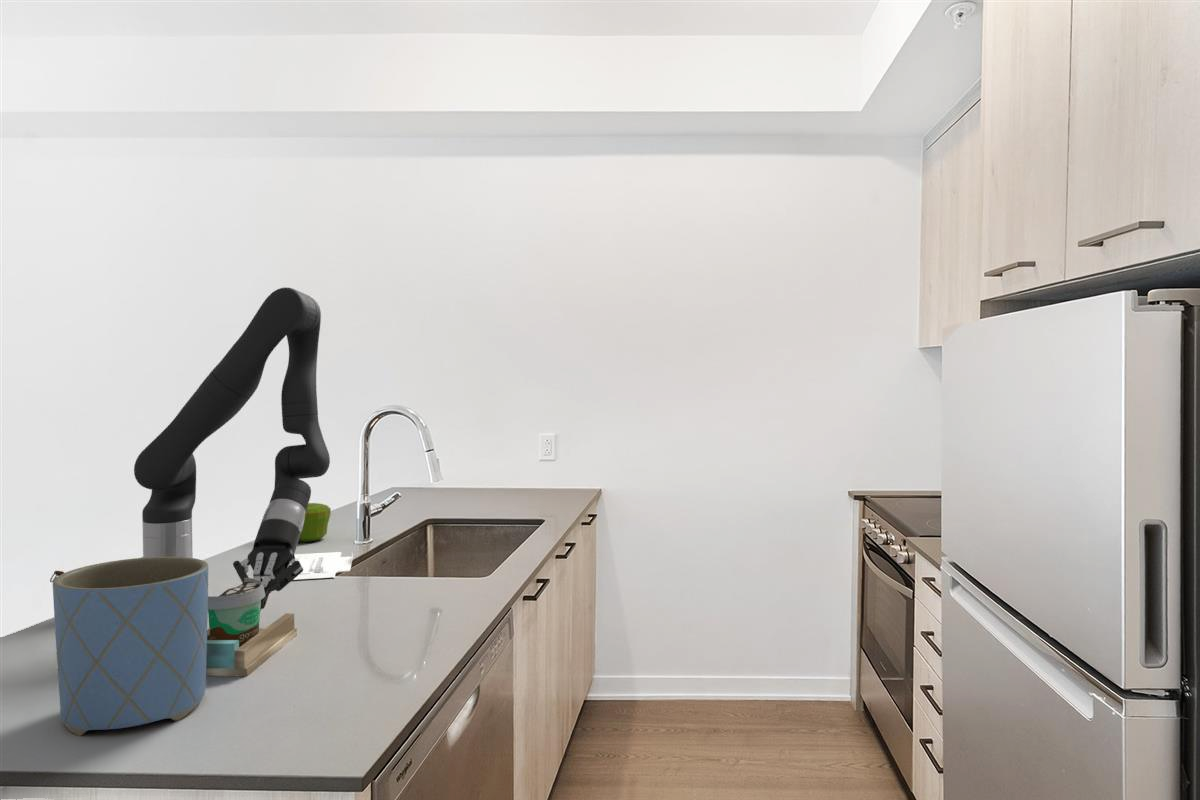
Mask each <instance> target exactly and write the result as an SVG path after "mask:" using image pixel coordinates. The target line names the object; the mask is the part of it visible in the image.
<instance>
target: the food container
mask: <svg viewBox="0 0 1200 800" xmlns="http://www.w3.org/2000/svg"><path fill="white" fill-rule="evenodd" d="M264 597H265V591H264V587H263V585H262V582H261V581H259V580H257V579H253V577H249V578H244V583H241V584H240V585H238V586H236V587H230V588H228V589H226V590H225V591H224V592H222V593H221V594H220V595H218V596H215V595H214V596H212V595H211V596H210V595H208V625H209V626H208V627H209V628H208V629H209V630H210V640H239V647H241V646H242V645H243V644H245V643H246V642H247V641H249V640H250V639H252V638H253V637H254V636H256V635H257V634H258V633H259V628H260V617H261V611H260V608H261V599H263V598H264Z"/></svg>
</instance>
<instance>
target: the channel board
mask: <svg viewBox="0 0 1200 800" xmlns="http://www.w3.org/2000/svg"><path fill="white" fill-rule="evenodd" d="M297 631H298V630H297V628H295V613H291V612H290V613H289V612H288V613H284V614H283V615H282V616H280V617H279V618H277V620H275V621H274V622H272V623H271V624H269V625H268V626H266V627H263V628H261V627H259V633H258V634H257V635H256V636H254V637H253V638H252V639H250V640H249V641H247V642H246V643H245V644H243V645H242V646H241V647H239V640H210V630H209V628H207V654H206V677H213V676H215V677H248V676H249V675H250V674H252V673H253V672H254V671H255V670H257V668H260V666H261V665H263V663H265V662H266V661H267V660H268V659H270V658H271V657H272V656H273V655H274V654H276V653H277V652H278V651H280V649H282V648H283V647H284V646H285V645H286V644H288V643H289V642H290V641H291V640H293V639H294V638H295V637H296V636H297V633H298V632H297Z"/></svg>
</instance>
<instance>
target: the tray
mask: <svg viewBox="0 0 1200 800" xmlns="http://www.w3.org/2000/svg"><path fill="white" fill-rule="evenodd" d="M294 556H295V560H296V561H299V562H300V564H301V565H302V568H303V572H302V573H300V574H299V575H298V576H297V577H296V578H294V579H293V580H292V581H294V580H295V581H296V580H309V579H310V580H312V579H313V580H314V579H327V578H333V579H335V578H336V574H337V573H348V572H349V573H350V572H351V568H352V562H353V559H354V555H353V552H352V551H351V556H342V552H341V551H334V552H333V551H332V552H317V553H299V554H297V553H294Z"/></svg>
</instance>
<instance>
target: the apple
mask: <svg viewBox="0 0 1200 800" xmlns="http://www.w3.org/2000/svg"><path fill="white" fill-rule="evenodd" d="M331 509H332V508H331V507H330V506H328V505H327V504H323V503H318V502H316V503H315V502H309V503H308V506H307V509H306V513H305V518H304V524H303V529H302V531H301V534H300V537H299V540H298V542H302V543H304V542H305V543H307V542H308V543H309V542H316V541H319V540H321V539H323V538H324V537H325V536H326V535H327V534H328V533H327V532H328V525H329V522H330V517H331V513H332V512H331Z"/></svg>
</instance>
